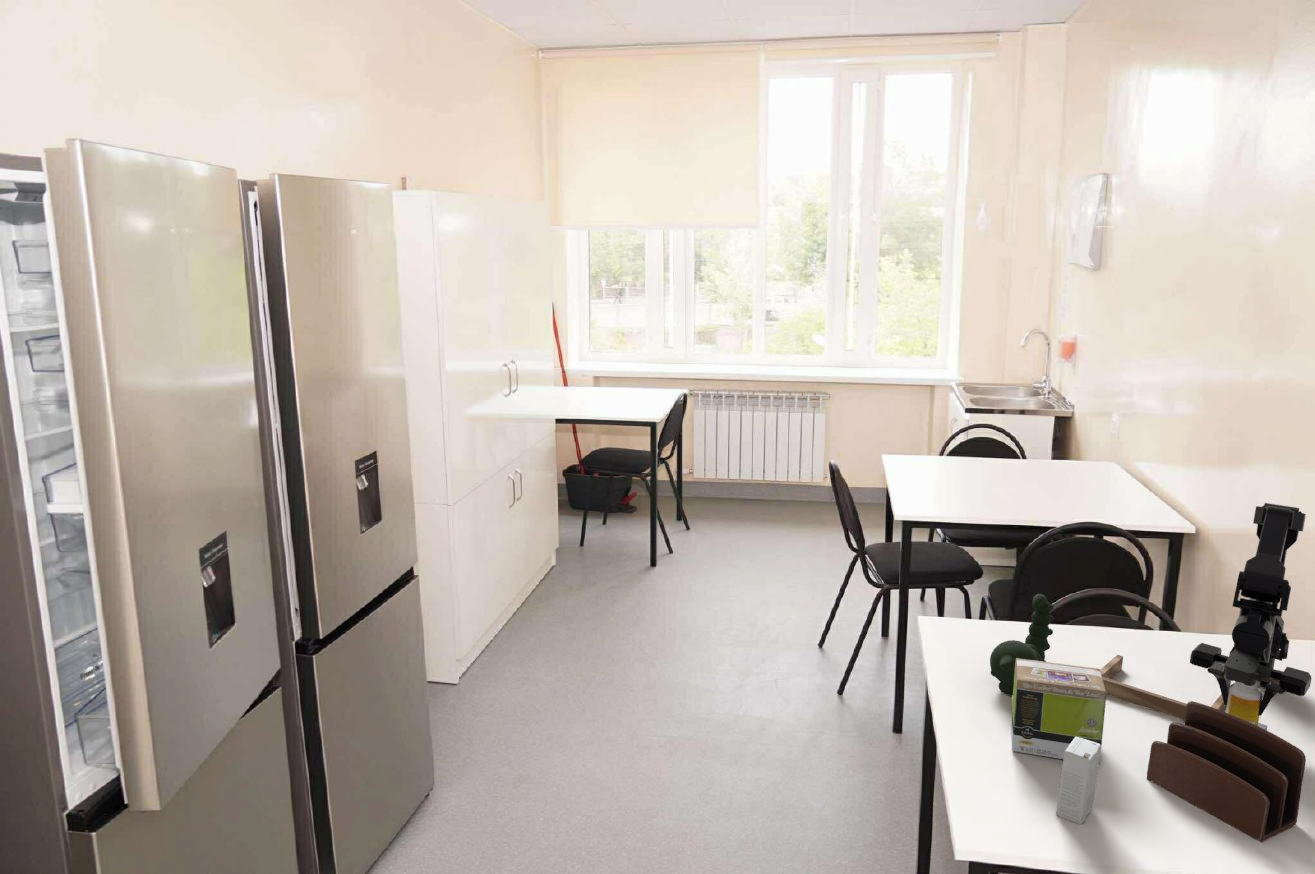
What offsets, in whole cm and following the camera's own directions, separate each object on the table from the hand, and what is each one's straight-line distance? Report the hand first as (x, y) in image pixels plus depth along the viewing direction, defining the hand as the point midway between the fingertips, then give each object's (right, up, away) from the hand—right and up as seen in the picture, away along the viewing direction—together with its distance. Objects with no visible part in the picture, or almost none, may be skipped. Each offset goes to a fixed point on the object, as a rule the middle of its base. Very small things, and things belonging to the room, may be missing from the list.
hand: (1242, 709), depth 177 cm
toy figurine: (-34, -1, +21) cm, 40 cm away
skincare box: (-43, -10, -24) cm, 50 cm away
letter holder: (-17, -10, -20) cm, 28 cm away
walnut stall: (-8, -2, +15) cm, 17 cm away
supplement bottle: (0, -3, +1) cm, 3 cm away
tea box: (-38, -6, -4) cm, 39 cm away
